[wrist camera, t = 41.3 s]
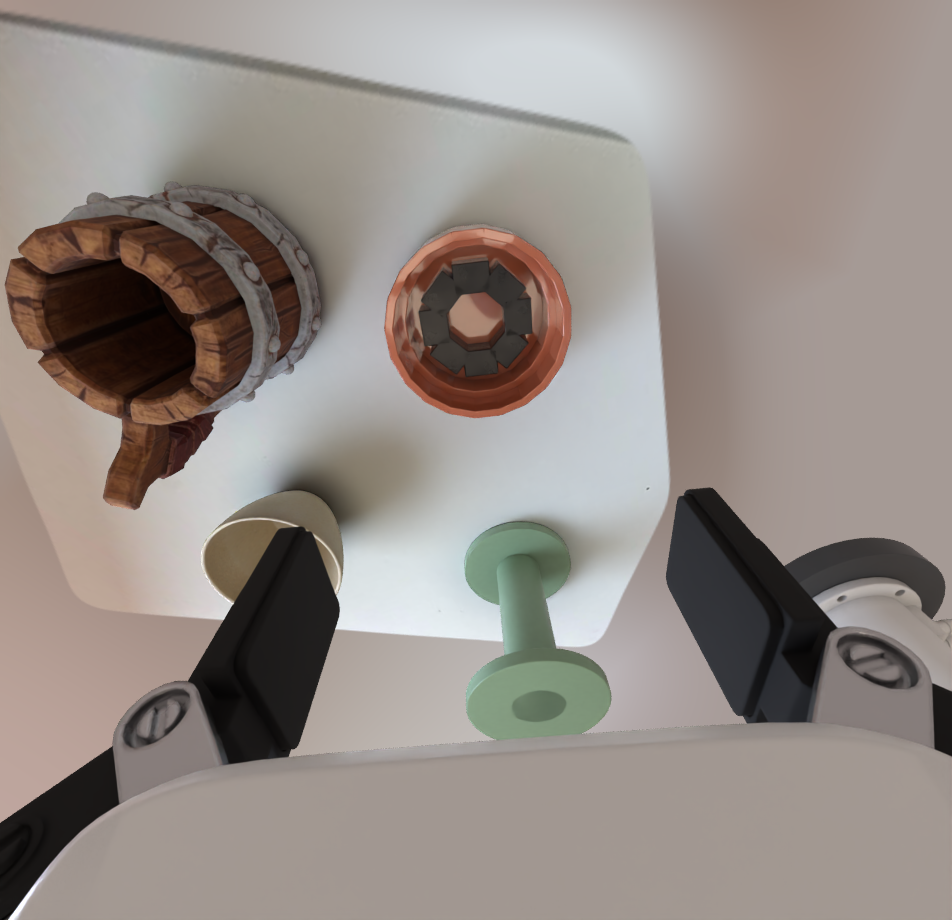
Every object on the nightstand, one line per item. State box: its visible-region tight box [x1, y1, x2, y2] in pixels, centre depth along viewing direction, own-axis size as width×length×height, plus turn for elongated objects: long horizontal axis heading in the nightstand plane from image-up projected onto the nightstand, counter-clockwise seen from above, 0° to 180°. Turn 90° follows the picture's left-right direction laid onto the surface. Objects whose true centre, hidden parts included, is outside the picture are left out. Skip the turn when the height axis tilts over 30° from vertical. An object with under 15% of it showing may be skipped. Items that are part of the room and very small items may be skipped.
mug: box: [5, 182, 321, 510], centre depth 24 cm, size 12×14×15 cm
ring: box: [418, 257, 533, 377], centre depth 29 cm, size 7×7×2 cm
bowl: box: [384, 224, 571, 418], centre depth 28 cm, size 11×11×5 cm
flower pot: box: [201, 490, 344, 604], centre depth 36 cm, size 10×10×7 cm
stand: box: [465, 522, 611, 740], centre depth 36 cm, size 10×10×14 cm
